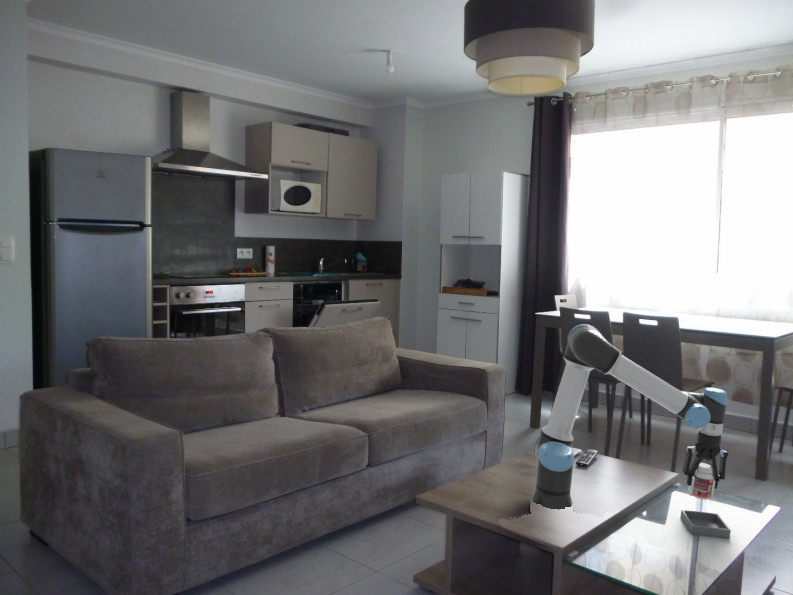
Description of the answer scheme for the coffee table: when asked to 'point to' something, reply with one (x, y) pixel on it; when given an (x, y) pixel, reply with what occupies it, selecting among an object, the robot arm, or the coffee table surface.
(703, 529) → the tray
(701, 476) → the pill bottle
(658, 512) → the coffee table surface
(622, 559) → the coffee table surface
